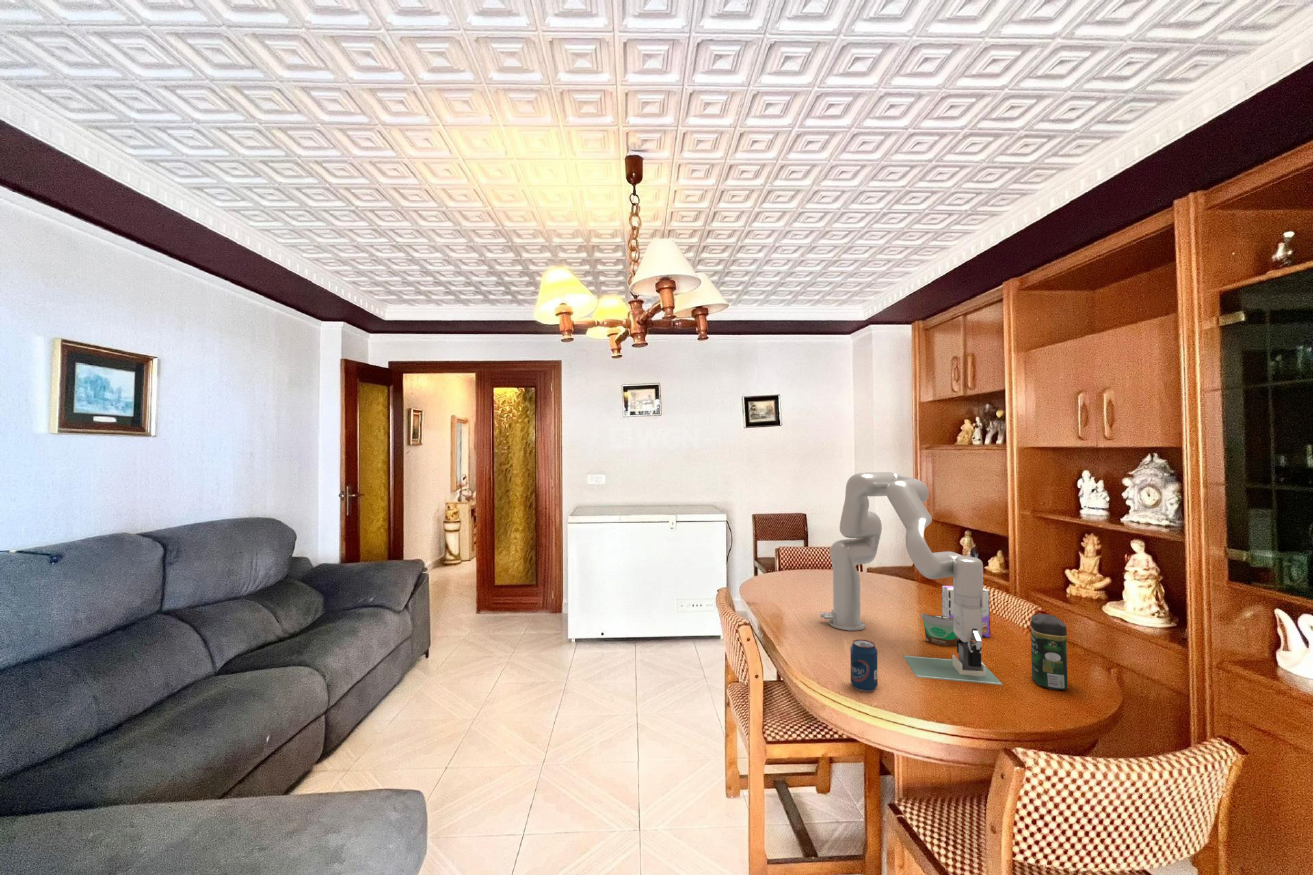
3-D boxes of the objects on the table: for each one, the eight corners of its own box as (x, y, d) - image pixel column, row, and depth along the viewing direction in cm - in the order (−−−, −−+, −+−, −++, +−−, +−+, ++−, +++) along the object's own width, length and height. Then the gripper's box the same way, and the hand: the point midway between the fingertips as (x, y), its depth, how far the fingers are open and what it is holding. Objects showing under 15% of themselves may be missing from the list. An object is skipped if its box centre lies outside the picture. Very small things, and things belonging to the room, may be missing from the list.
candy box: (982, 631, 189) (981, 585, 189) (990, 637, 183) (990, 590, 184) (941, 630, 190) (941, 584, 191) (949, 636, 185) (948, 589, 185)
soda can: (846, 686, 145) (845, 642, 146) (857, 678, 150) (857, 636, 151) (871, 695, 141) (870, 649, 141) (881, 686, 145) (881, 643, 146)
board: (916, 681, 149) (916, 676, 149) (902, 659, 165) (902, 654, 165) (1003, 689, 144) (1003, 684, 144) (981, 665, 160) (981, 661, 160)
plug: (963, 672, 152) (963, 646, 152) (958, 666, 156) (958, 641, 156) (978, 673, 151) (978, 647, 151) (973, 668, 155) (973, 642, 155)
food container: (920, 646, 175) (920, 616, 175) (921, 640, 180) (920, 611, 181) (963, 653, 169) (963, 622, 169) (962, 646, 175) (962, 616, 175)
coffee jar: (1028, 673, 154) (1028, 610, 154) (1062, 679, 150) (1061, 613, 151) (1034, 687, 145) (1034, 619, 146) (1070, 693, 142) (1069, 624, 142)
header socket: (960, 674, 151) (960, 663, 151) (952, 665, 157) (952, 654, 157) (985, 676, 149) (985, 665, 149) (977, 667, 156) (977, 656, 156)
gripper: (944, 591, 163) (945, 647, 163) (964, 607, 146) (964, 670, 146) (971, 592, 161) (972, 649, 161) (994, 609, 144) (995, 673, 144)
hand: (968, 659), depth 153 cm, fingers open, 9 cm apart
